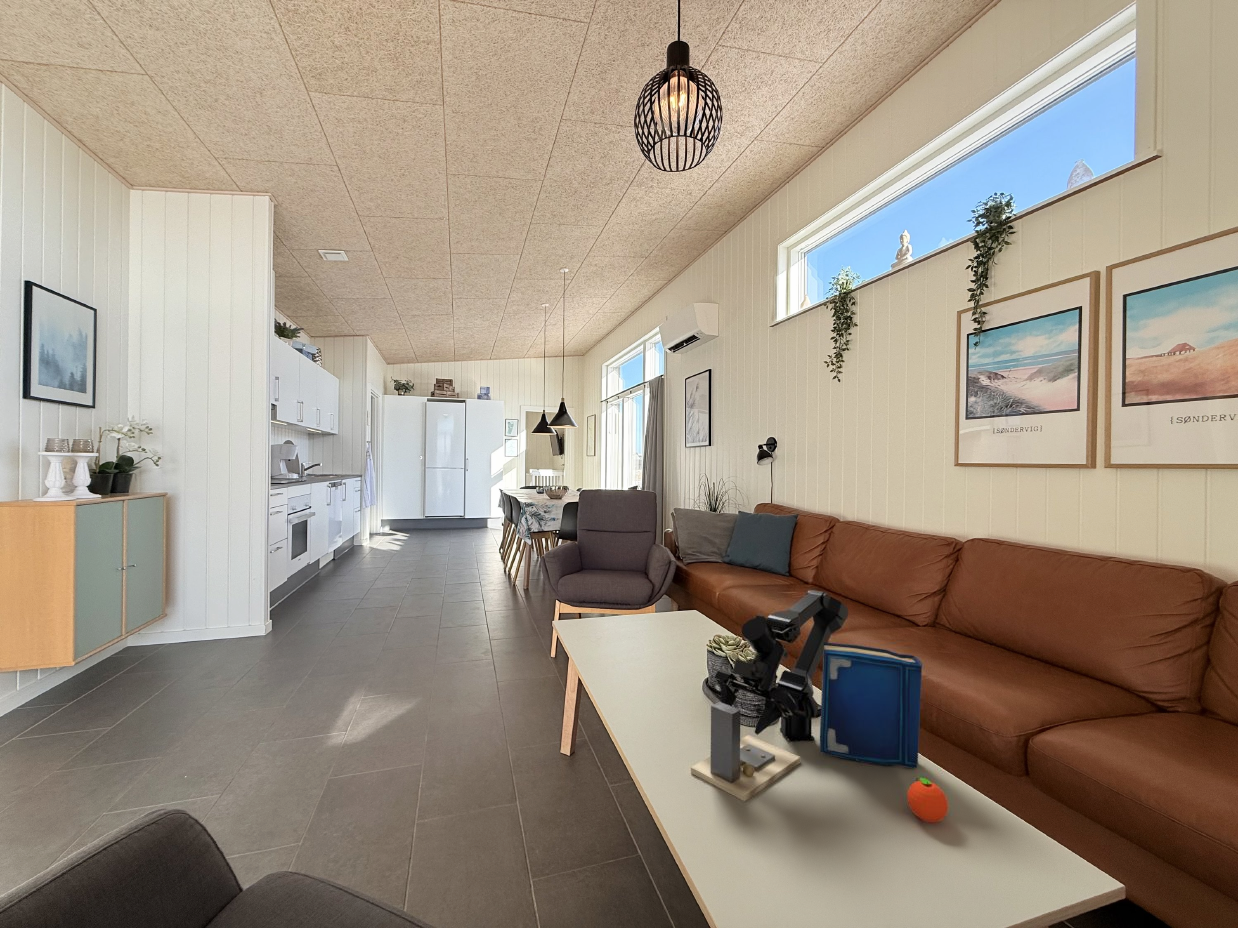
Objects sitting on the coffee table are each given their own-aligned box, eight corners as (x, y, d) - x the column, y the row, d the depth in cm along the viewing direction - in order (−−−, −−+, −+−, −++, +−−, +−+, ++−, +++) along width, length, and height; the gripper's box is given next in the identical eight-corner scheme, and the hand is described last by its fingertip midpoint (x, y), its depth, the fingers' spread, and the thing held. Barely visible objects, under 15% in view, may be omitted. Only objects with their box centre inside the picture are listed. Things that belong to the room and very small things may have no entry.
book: (918, 758, 130) (919, 650, 130) (924, 773, 123) (925, 660, 123) (819, 742, 137) (820, 640, 137) (819, 756, 130) (820, 649, 130)
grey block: (728, 761, 125) (728, 697, 125) (749, 771, 121) (749, 705, 121) (710, 772, 121) (711, 705, 121) (731, 783, 117) (732, 714, 117)
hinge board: (748, 739, 138) (748, 725, 138) (800, 762, 128) (800, 747, 128) (690, 772, 123) (690, 757, 123) (744, 801, 112) (744, 784, 113)
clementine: (897, 804, 112) (898, 768, 112) (933, 805, 112) (933, 769, 112) (918, 830, 104) (918, 791, 104) (955, 831, 104) (956, 792, 104)
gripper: (718, 635, 133) (688, 694, 126) (789, 655, 120) (760, 723, 112) (737, 660, 139) (710, 718, 131) (807, 681, 125) (781, 748, 117)
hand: (738, 725), depth 123 cm, fingers open, 9 cm apart
